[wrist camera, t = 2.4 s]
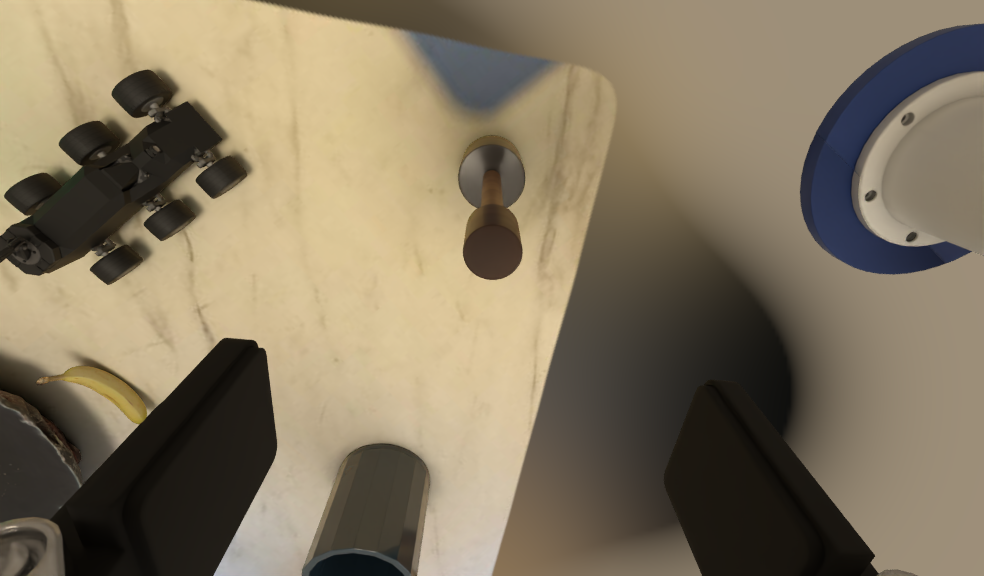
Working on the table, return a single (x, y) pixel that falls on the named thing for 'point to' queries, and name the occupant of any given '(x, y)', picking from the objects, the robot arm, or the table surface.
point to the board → (33, 462)
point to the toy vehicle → (115, 185)
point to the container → (372, 516)
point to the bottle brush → (492, 206)
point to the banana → (105, 389)
